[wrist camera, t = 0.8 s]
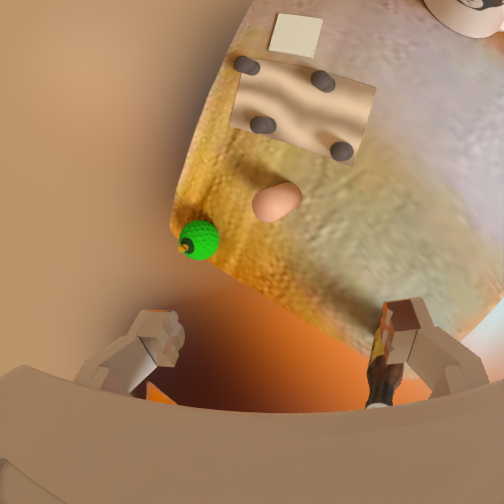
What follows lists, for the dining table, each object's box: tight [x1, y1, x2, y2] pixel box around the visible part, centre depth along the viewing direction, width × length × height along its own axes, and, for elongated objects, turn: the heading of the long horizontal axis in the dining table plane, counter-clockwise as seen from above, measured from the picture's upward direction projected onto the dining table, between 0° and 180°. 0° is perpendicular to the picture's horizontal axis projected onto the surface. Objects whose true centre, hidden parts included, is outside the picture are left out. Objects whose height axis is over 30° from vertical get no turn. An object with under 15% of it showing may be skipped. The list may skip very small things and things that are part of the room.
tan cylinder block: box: [252, 182, 302, 222], centre depth 47 cm, size 5×5×9 cm
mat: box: [269, 14, 323, 59], centre depth 39 cm, size 8×8×1 cm
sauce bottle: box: [365, 325, 404, 409], centre depth 41 cm, size 7×6×20 cm
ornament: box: [178, 220, 219, 260], centre depth 58 cm, size 8×8×10 cm
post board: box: [229, 56, 377, 167], centre depth 42 cm, size 14×24×5 cm, turn 76°
